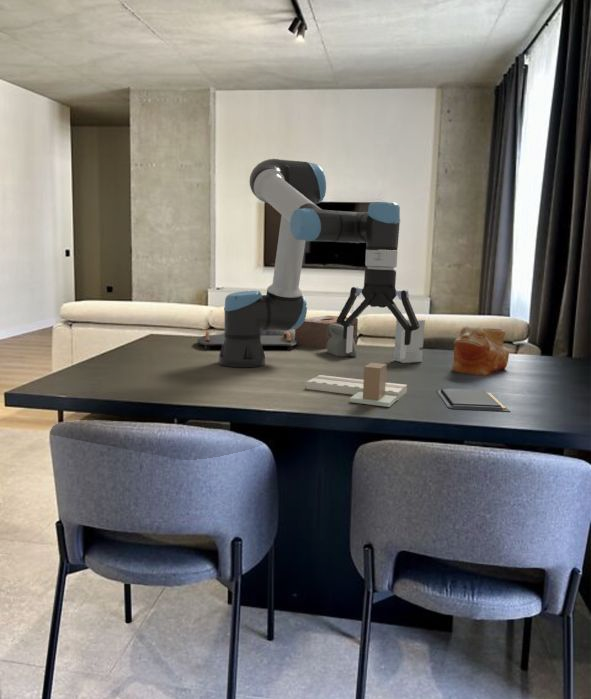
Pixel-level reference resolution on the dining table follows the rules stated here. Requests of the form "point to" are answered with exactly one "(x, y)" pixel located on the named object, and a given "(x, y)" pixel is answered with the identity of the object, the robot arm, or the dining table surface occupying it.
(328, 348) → the digital clock
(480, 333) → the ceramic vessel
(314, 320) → the tissue box cover
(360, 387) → the pad
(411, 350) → the skincare box
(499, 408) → the wallet
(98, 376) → the dining table surface
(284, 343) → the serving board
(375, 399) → the stub
